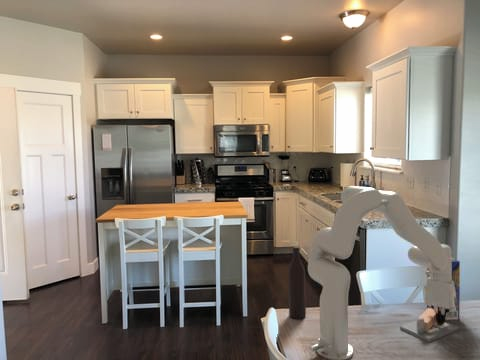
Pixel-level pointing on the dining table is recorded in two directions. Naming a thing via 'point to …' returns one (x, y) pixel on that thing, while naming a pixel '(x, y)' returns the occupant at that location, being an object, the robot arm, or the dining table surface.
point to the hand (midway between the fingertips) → (440, 322)
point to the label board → (432, 334)
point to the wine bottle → (296, 287)
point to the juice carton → (457, 289)
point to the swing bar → (428, 318)
